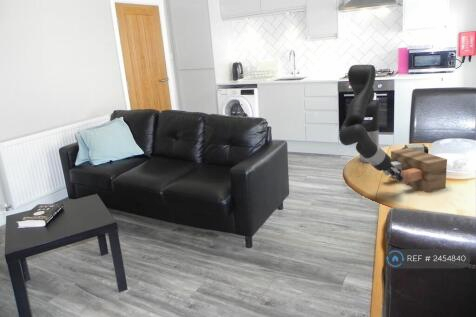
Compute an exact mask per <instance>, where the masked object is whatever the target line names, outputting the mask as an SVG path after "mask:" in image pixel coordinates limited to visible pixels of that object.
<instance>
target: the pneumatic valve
mask: <svg viewBox="0 0 476 317" xmlns="http://www.w3.org/2000/svg"><path fill="white" fill-rule="evenodd" d="M404 148H411V149H415V150H418V151H421V152H425V153H428V154H429V148H428V146H426V145H425V144H424V143H421V144H420V143H419V144H418V143H413V144H412V143H411V144H404V147H402V148H401V149H404Z"/></svg>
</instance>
